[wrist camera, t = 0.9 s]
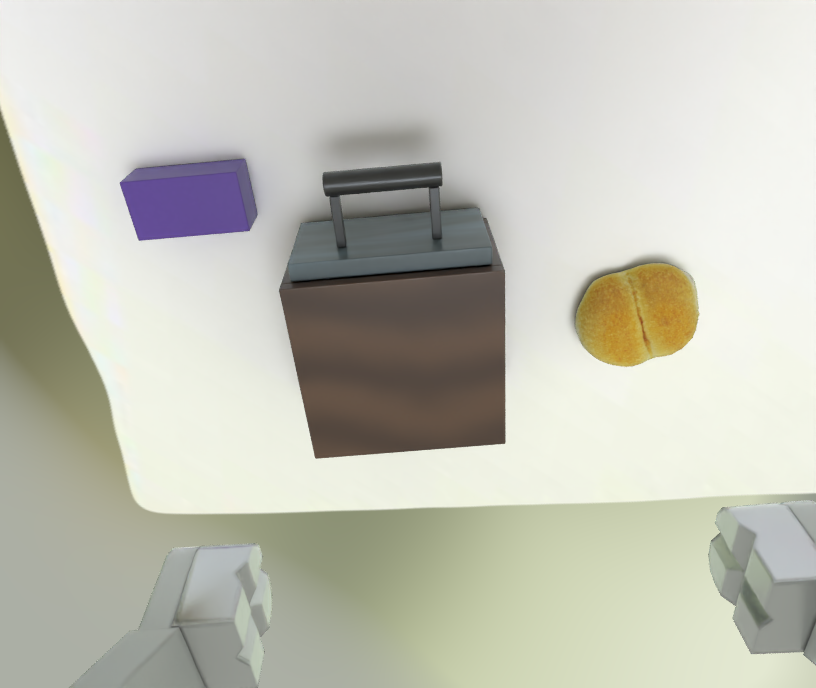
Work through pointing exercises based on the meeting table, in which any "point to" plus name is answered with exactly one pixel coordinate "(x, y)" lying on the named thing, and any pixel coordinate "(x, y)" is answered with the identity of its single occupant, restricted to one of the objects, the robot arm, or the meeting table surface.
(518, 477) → the meeting table surface
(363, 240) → the drawer
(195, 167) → the bar
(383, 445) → the cabinet
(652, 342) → the bread roll
